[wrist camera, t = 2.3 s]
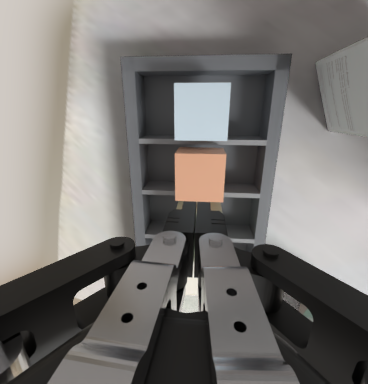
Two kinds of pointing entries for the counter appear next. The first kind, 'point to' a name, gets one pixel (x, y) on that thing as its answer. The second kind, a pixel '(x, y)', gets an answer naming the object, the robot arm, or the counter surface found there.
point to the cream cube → (192, 285)
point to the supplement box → (345, 89)
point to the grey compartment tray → (234, 146)
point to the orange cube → (200, 174)
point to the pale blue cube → (201, 111)
